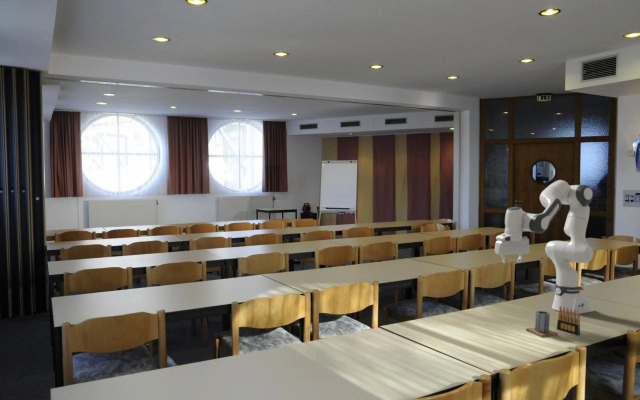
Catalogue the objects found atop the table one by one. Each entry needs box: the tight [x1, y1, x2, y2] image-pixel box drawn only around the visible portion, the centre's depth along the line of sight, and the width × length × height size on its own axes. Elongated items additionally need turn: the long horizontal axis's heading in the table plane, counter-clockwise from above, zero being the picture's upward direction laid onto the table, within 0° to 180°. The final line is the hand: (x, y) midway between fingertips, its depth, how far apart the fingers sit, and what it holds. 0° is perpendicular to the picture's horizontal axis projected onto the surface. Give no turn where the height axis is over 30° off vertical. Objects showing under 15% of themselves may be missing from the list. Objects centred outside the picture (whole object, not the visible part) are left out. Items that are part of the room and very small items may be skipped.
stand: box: [525, 327, 559, 338], centre depth 242 cm, size 10×10×9 cm
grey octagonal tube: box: [534, 310, 551, 333], centre depth 242 cm, size 6×6×9 cm
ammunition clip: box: [556, 306, 581, 336], centre depth 244 cm, size 11×2×12 cm, turn 36°
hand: (511, 262), depth 269 cm, fingers open, 8 cm apart
